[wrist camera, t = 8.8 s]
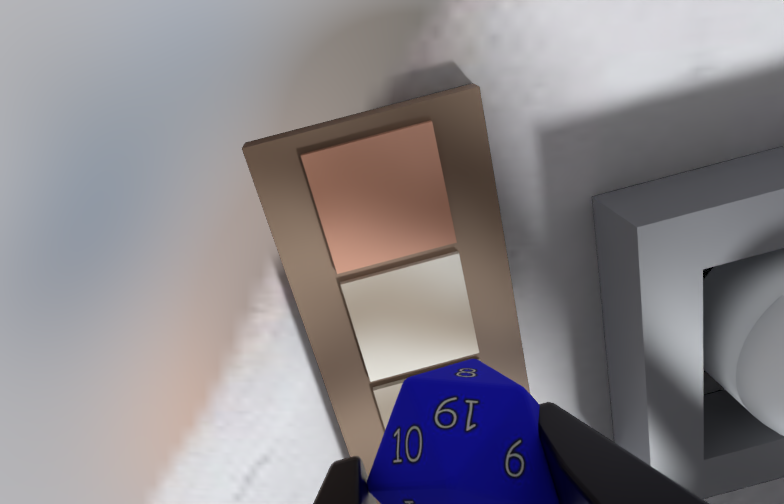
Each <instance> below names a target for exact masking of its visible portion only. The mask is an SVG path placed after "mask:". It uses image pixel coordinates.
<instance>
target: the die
mask: <svg viewBox="0 0 784 504" xmlns="http://www.w3.org/2000/svg"><path fill="white" fill-rule="evenodd" d="M539 408H540V405H539V404H538V403H537V402H536V400H535V399H534V398H533V397H532V396H531V395H530V394H529V392H528V391H527V390H526V389H525V388H524V387H523V386H521V385H519V384H518V383H516V382H514V381H513V380H511V379H509V378H508V377H506V376H504V375H503V374H501V373H499V372H498V371H496V370H494V369H493V368H491V367H489V366H488V365H486V364H484V363H483V362H481V361H479V360H477V359H469V360H465V361H462V362H459V363H455V364H452V365H448V366H445V367H442V368H438V369H435V370H431V371H428V372H424V373H421V374H418V375H414V376H411V377H408V378H407V379H405V380H404V382H403V383H402V386H401V389H400V391H399V394H398V397H397V399H396V402H395V405H394V407H393V410H392V413H391V415H390V418H389V421H388V424H387V426H386V429H385V432H384V435H383V438H382V440H381V443H380V446H379V449H378V451H377V454H376V457H375V460H374V462H373V465H372V468H371V471H370V473H369V476H368V479H367V488H368V491H369V493H370V494H371V495H373V496H374V497H375V498H376V499H377V500H378V501H379V502H380V503H381V504H560V502H559V499H558V496H557V493H556V489H555V486H554V483H553V480H552V476H551V473H550V470H549V467H548V463H547V460H546V457H545V454H544V450H543V447H542V444H541V440H540V437H539V432H538V431H539V430H538V420H539Z"/></svg>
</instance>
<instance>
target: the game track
mask: <svg viewBox="0 0 784 504" xmlns="http://www.w3.org/2000/svg"><path fill="white" fill-rule="evenodd" d="M242 150H243V153H244V156H245V159H246V161H247V164H248V167H249V170H250V173H251V176H252V178H253V182H254V184H255V187H256V190H257V193H258V196H259V199H260V202H261V204H262V207H263V210H264V213H265V216H266V219H267V221H268V224H269V227H270V230H271V233H272V236H273V239H274V241H275V244H276V247H277V250H278V253H279V256H280V258H281V261H282V264H283V267H284V270H285V273H286V276H287V278H288V281H289V284H290V287H291V290H292V293H293V295H294V298H295V301H296V304H297V307H298V310H299V313H300V315H301V318H302V321H303V324H304V327H305V330H306V332H307V335H308V338H309V341H310V344H311V347H312V349H313V352H314V355H315V358H316V361H317V364H318V367H319V369H320V372H321V375H322V378H323V381H324V384H325V386H326V389H327V392H328V395H329V398H330V401H331V404H332V406H333V409H334V412H335V415H336V418H337V421H338V423H339V426H340V429H341V432H342V435H343V438H344V441H345V443H346V446H347V449H348V452H349V455H350V457H352V456H359V457H360V458H361V459H362V462H363V464H364V467H365V470H366V473H367V475H368V476H369V473H370V471H371V468H372V465H373V462H374V460H375V457H376V454H377V451H378V449H379V446H380V443H381V440H382V438H383V435H384V432H385V429H386V426H387V424H388V421H389V418H390V415H391V413H392V410H393V407H394V405H395V402H396V399H397V397H398V394H399V391H400V389H401V386H402V383H403V382H404V380H405V379H407V378H408V377H411V376H414V375H418V374H421V373H424V372H428V371H431V370H435V369H438V368H442V367H445V366H448V365H452V364H455V363H459V362H462V361H465V360H469V359H477V360H479V361H481V362H483V363H484V364H486V365H488V366H489V367H491V368H493V369H494V370H496V371H498V372H499V373H501V374H503V375H504V376H506V377H508V378H509V379H511V380H513V381H514V382H516V383H518V384H519V385H521V386H523V387H524V388H525V389H526V390H527V391H528V392H529V394H530V391H529V385H528V379H527V373H526V367H525V360H524V354H523V348H522V342H521V336H520V330H519V324H518V318H517V312H516V306H515V300H514V294H513V288H512V282H511V275H510V269H509V263H508V257H507V251H506V245H505V239H504V233H503V227H502V221H501V215H500V209H499V203H498V197H497V190H496V184H495V178H494V172H493V166H492V160H491V154H490V148H489V142H488V136H487V130H486V124H485V118H484V112H483V106H482V99H481V93H480V87H479V86H477V85H475V84H473V83H472V84H469V85H465V86H461V87H457V88H453V89H449V90H446V91H442V92H438V93H434V94H430V95H426V96H423V97H419V98H415V99H411V100H407V101H403V102H400V103H396V104H392V105H388V106H384V107H380V108H377V109H373V110H369V111H365V112H361V113H357V114H354V115H350V116H346V117H343V118H339V119H334V120H331V121H327V122H323V123H320V124H315V125H312V126H308V127H304V128H300V129H296V130H292V131H289V132H285V133H281V134H277V135H273V136H269V137H265V138H262V139H258V140H254V141H251V142H246V143H245V144H244V146H243V148H242ZM375 499H376V498H375ZM376 503H377V504H381V503H380V502H379V501H378V500H377V499H376Z"/></svg>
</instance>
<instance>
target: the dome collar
mask: <svg viewBox="0 0 784 504" xmlns="http://www.w3.org/2000/svg"><path fill="white" fill-rule="evenodd" d="M592 202H593V213H594V224H595V235H596V246H597V257H598V268H599V279H600V290H601V301H602V312H603V323H604V334H605V345H606V356H607V367H608V378H609V389H610V400H611V411H612V422H613V433H614V443H616V444H617V445H619V446H621V447H622V448H624V449H625V450H627V451H628V452H630V453H631V454H633V455H634V456H636V457H638V458H639V459H641V460H642V461H644V462H645V463H647V464H648V465H650V466H652V467H653V468H655V469H656V470H658V471H659V472H661V473H662V474H664V475H665V476H667V477H669V478H670V479H672V480H673V481H675V482H676V483H678V484H679V485H681V486H682V487H684V488H686V489H687V490H689V491H690V492H692V493H693V494H695V495H696V496H698V497H699V498H701V499H705V498H709V497H712V496H716V495H720V494H724V493H727V492H731V491H735V490H738V489H742V488H746V487H749V486H753V485H757V484H760V483H764V482H768V481H771V480H775V479H779V478H782V477H784V436H783V435H780V434H779V433H777V432H776V431H774V430H772V429H771V428H769V427H768V426H766V425H765V424H763V423H762V422H760V421H759V420H758V419H757V418H756V417H754V416H753V415H752V414H751V413H750V412H749V411H748V410H747V409H746V408H745V407H743V406H742V405H741V404H740V403H739V402H738V401H737V400H736V399H735V398H734V397H733V396H732V395H731V394H730V393H728V392H727V391H726V390H722V391H718V392H714V393H711V394H707V395H703V269H707V268H710V267H714V266H718V265H722V264H725V263H729V262H733V261H737V260H740V259H744V258H748V257H752V256H755V255H759V254H763V253H767V252H770V251H774V250H778V249H782V248H784V146H782V147H778V148H775V149H771V150H767V151H763V152H760V153H756V154H752V155H748V156H744V157H741V158H737V159H733V160H729V161H725V162H722V163H718V164H714V165H710V166H707V167H703V168H699V169H695V170H691V171H688V172H684V173H680V174H676V175H672V176H669V177H665V178H661V179H657V180H654V181H650V182H646V183H642V184H638V185H635V186H631V187H627V188H623V189H620V190H616V191H612V192H608V193H604V194H601V195H597V196H593V197H592Z"/></svg>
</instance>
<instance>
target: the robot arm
mask: <svg viewBox="0 0 784 504" xmlns="http://www.w3.org/2000/svg"><path fill="white" fill-rule="evenodd" d="M539 405H540V408H539V420H538V430H539V431H538V432H539V437H540V440H541V444H542V447H543V450H544V454H545V457H546V460H547V463H548V467H549V470H550V473H551V476H552V480H553V483H554V486H555V489H556V493H557V496H558V499H559V502H560V504H709V503H707V502H706V501H704V500H703V499H701V498H699V497H698V496H696V495H695V494H693V493H692V492H690V491H689V490H687V489H686V488H684V487H682V486H681V485H679V484H678V483H676V482H675V481H673V480H672V479H670V478H669V477H667V476H665V475H664V474H662V473H661V472H659V471H658V470H656V469H655V468H653V467H652V466H650V465H648V464H647V463H645V462H644V461H642V460H641V459H639V458H638V457H636V456H634V455H633V454H631V453H630V452H628V451H627V450H625V449H624V448H622V447H621V446H619V445H617V444H616V443H614V442H613V441H611V440H610V439H608V438H607V437H605V436H604V435H602V434H600V433H599V432H597V431H596V430H594V429H593V428H591V427H590V426H588V425H587V424H585V423H583V422H582V421H580V420H579V419H577V418H576V417H574V416H573V415H571V414H570V413H568V412H566V411H565V410H563V409H562V408H560V407H559V406H557V405H556V404H554V403H551V402H546V403H543V404H539ZM367 479H368V475H367V473H366V470H365V467H364V464H363V462H362V459H361V458H360V457H359V456H352V457H349V458H345V459H342V460H338V461H335V462H334V463H333V464H332V465H331V466H330V468H329V470H328V473H327V475H326V477H325V479H324V481H323V484H322V486H321V488H320V490H319V492H318V494H317V497H316V499H315V501H314V503H313V504H377V503H376V499H375V497H374V496H373V495H371V494H370V493H369V491H368V488H367Z"/></svg>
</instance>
